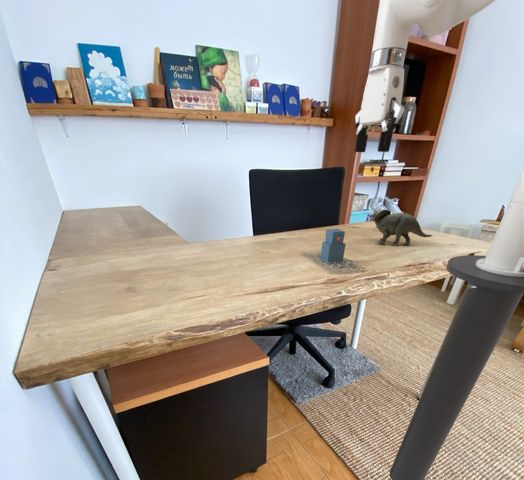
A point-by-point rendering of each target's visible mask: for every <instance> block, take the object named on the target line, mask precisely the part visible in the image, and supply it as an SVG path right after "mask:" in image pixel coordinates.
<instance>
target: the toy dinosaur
mask: <svg viewBox="0 0 524 480" xmlns="http://www.w3.org/2000/svg"><path fill="white" fill-rule="evenodd" d="M371 209H372V210H373V211H372V214H371V217H370V218H371V221H372V222H374V223H375V227H376V229H378V231H379V232H380V233H381V234H382V238H379V241H378V242H377V244H378V245H383V246H384V245H385V244H386V241H387V239H388V238H390V237H391V236H395V240H394V241H393V242H391V243H390V245H391V246H394V247H395V246H398V245H399V243H400V239H401V238H402V237H403V238H404V240H405V242H404V243H403V244H402V245H403V246H409V245H410V244H411V237H410V236H409V233H411V234H413V235H416V236H419V237H422V238H431V237H433V234H427V233H425V232H423V230H422V227H421V225H420V223H419V221H418V220H417V219H416V217H415V216H414V215H412V214H410V213H407V212H397V213H392V212H391V210H389V209H382V208H381V206H380V204H378V210H377V209H376V208H374V207H373V206H371Z"/></svg>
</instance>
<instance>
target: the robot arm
mask: <svg viewBox="0 0 524 480" xmlns="http://www.w3.org/2000/svg"><path fill="white" fill-rule="evenodd" d="M495 2H496V0H379V4H378V11H377V17H376V23H375V31H374V37H373V44H372V50H371V55H370V63H369V68H368V75H367V78H366V82H365V87H364V91H363V96H362V101H361V105H360V110H359V111H358V112H357V113H356V114H355V117H354V119H355V129H356V131H355V134H356V140H355V146H354V152H355V153H365V152H366V149H367V144H368V137H369V134H368V132H369V130H370V128H371V127H372V126H381V128H382V131H380V134H379V139H378V145H377V152H379V153H388V152H390V148H391V144H392V139H393V134H394V133H395V131H396V127H397V126H398V125H399V124H400V121H401V118H402V116H403V114H404V112H405V110H406V109H405V106H403V104H402V98H403V92H404V83H405V68H404V63H405V58H406V54H407V48H408V45H409V40H410V34H411V29H412V26H413V25H414V24H415V25H417V26H418V28H419V31H420V32H421V33H422V34H423V35H425V36H427V37H434V36H438V35H441V34H443V33H446V32H447V31H449V30H450V29H452V28H454V27H456V26H458V25H460V24H461V23H463V22H465V21H466V20H469V19H470V18H472V17H473V16H475V15H477V14H479V13H480V12H482V11H483V10H484V9H486V8H487V7H489V6H490V5H491V4H493V3H495ZM485 256H486V258H484V259H479V260H477V262H476V264H475V265H476V266H477V267H478V268H479V269H481V270H484V271H487V272H490V273H494V274H498V275H504V276H511V277H524V166H523V167H522V170H521V173H520V176H519V178H518V181H517V183H516V186H515V188H514V191H513V192H512V195H511V198H510V200H509V201H508V204H507V207H506V209H505V211H504V213H503V216H502V218H501V220H500V223H499V226H498V228H497V230H496V232H495V235H494V237H493V239H492V242H491V243H490V246H489V249H488V251H487V253H486V255H485Z"/></svg>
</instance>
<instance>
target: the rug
mask: <svg viewBox="0 0 524 480" xmlns="http://www.w3.org/2000/svg"><path fill="white" fill-rule="evenodd" d="M302 254H303V255H304V256H305V255H306V256H308V257H311V258H313V261H314V262H316V263H317V264H319V265H320V264H321V265H322V266H323V267H324V268H328V270H329V272H331V273H339V272H340V273H341V272H345V271H350V270H352V271H354V270H356V271H358V270H359V271H363V270H364V269H366V270H368V269H367V267H365V266H364V265H361V264H360V265H359V264H357V263H356V262H354V261H352V260H351V259H348V258H347V257H346V258H345V257H343V262H340V261H339V262H336V261H335V262H334V263H332V262H331V263H329V262H323V260H321V259H320V257H321V249H319V250H312V251H306V252H304V251H302ZM318 255H319V256H318ZM328 263H329V264H328Z"/></svg>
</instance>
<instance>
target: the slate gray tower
mask: <svg viewBox="0 0 524 480" xmlns="http://www.w3.org/2000/svg"><path fill="white" fill-rule="evenodd" d="M345 233H346V231H345V230H342V229H339V228H329V229H326V230H325V239H324V241H322V242H321V249H320V250H321V252H320V254H321V256H319V258H320V259H321V260H323V261H322V262H323V263H325V262H329V263H328V264H329V265H330V263H331V262H332V263H331V264H334V262H335V261H336V262H339V261H340V262H339V263H344V258H345V250H346V243H344V241H345ZM320 259H319V260H320ZM321 260H320V261H321ZM328 264H327V265H328Z"/></svg>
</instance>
